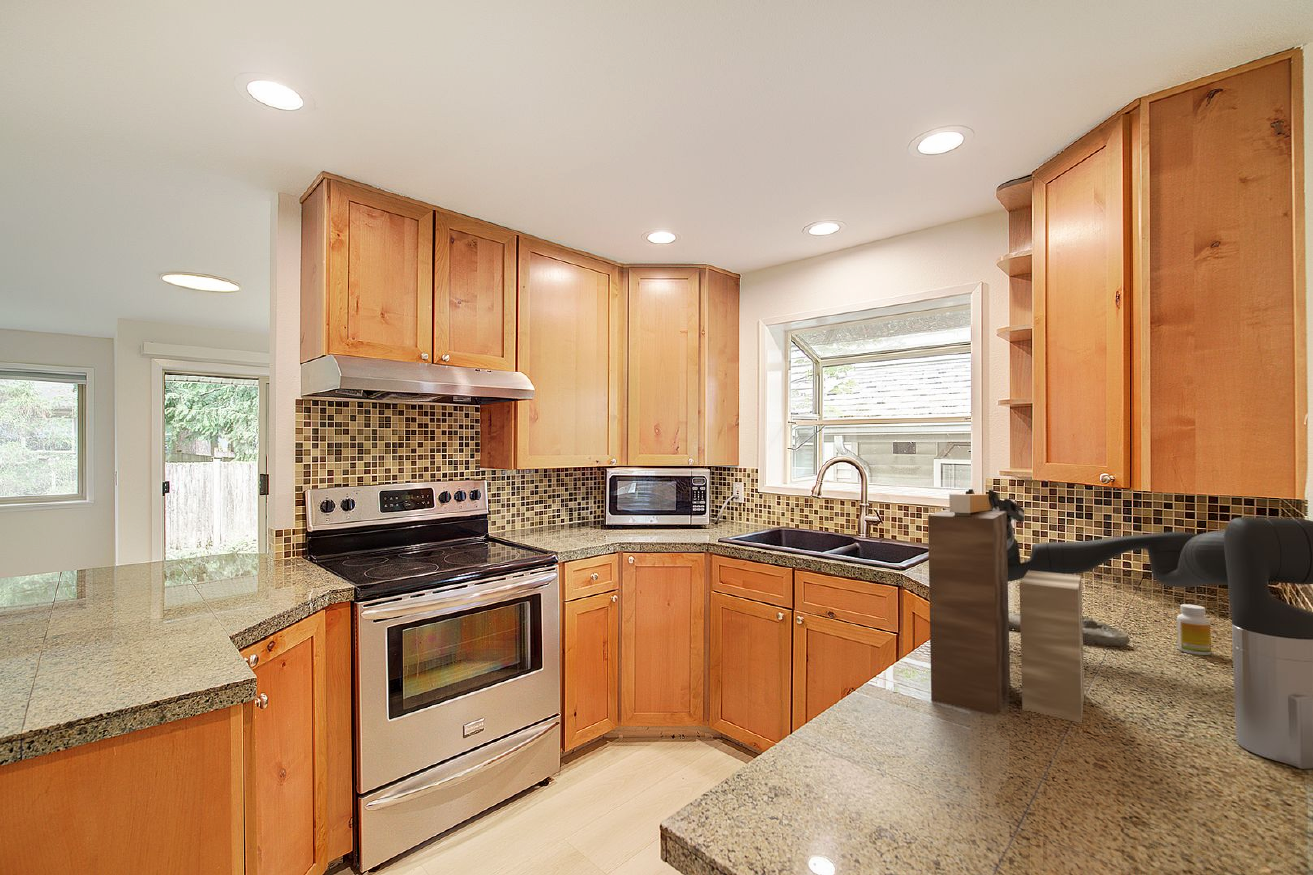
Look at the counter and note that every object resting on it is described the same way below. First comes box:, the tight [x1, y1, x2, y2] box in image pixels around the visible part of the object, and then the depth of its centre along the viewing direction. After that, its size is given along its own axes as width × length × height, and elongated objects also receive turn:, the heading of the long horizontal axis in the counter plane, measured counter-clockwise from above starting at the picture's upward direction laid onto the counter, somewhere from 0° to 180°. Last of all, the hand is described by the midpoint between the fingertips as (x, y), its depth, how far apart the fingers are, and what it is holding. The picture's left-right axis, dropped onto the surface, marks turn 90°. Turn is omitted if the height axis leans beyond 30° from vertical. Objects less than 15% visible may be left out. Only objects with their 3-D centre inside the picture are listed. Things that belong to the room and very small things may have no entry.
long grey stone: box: [1009, 611, 1131, 647], centre depth 143 cm, size 35×5×10 cm
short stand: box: [1019, 570, 1085, 724], centre depth 102 cm, size 14×8×21 cm, turn 143°
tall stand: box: [927, 508, 1011, 716], centre depth 106 cm, size 16×10×33 cm, turn 143°
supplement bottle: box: [1176, 603, 1212, 656], centre depth 127 cm, size 5×5×10 cm
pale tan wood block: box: [948, 493, 993, 513], centre depth 111 cm, size 26×3×3 cm, turn 142°
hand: (980, 493), depth 117 cm, fingers closed on pale tan wood block, 3 cm apart
